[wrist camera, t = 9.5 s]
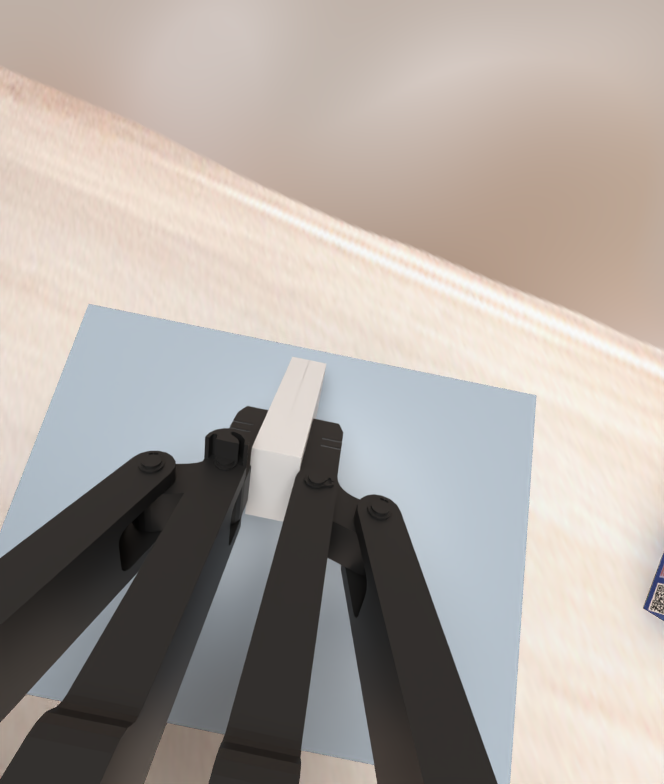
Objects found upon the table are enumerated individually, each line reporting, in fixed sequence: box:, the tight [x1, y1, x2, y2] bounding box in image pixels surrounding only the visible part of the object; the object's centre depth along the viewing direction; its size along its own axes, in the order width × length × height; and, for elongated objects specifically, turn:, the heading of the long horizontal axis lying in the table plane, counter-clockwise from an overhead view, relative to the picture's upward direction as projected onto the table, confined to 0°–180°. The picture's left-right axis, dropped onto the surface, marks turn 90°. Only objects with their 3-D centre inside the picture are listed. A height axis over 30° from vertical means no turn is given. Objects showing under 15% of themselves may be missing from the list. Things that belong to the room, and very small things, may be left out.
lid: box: [0, 304, 536, 784], centre depth 19 cm, size 22×16×1 cm
